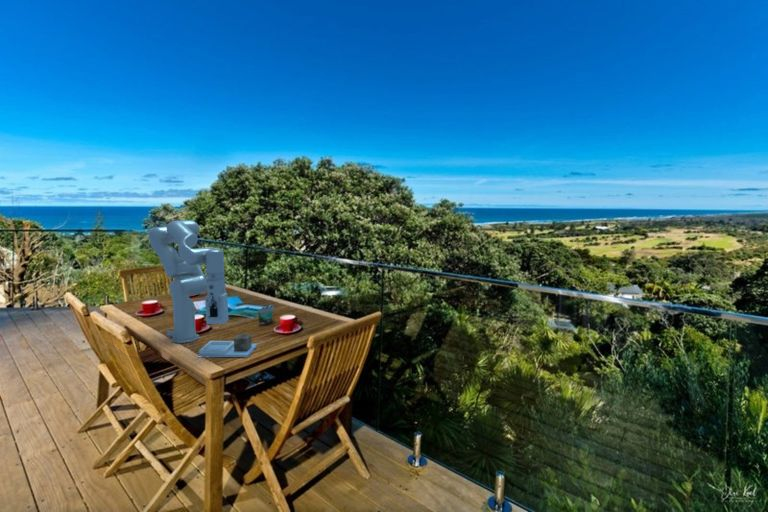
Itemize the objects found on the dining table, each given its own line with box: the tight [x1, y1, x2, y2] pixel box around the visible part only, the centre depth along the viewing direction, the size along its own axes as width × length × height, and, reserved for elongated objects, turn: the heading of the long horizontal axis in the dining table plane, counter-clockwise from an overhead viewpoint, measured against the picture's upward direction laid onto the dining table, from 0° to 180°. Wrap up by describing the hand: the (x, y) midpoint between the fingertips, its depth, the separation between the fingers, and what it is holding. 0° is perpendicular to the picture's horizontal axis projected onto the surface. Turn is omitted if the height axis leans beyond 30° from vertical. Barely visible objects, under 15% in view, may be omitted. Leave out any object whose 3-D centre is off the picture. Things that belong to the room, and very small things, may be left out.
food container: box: [257, 303, 275, 326], centre depth 223 cm, size 12×6×10 cm, turn 168°
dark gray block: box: [233, 333, 252, 351], centre depth 179 cm, size 6×6×6 cm
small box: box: [204, 292, 229, 325], centre depth 177 cm, size 8×6×13 cm
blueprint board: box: [197, 340, 258, 358], centre depth 180 cm, size 22×14×3 cm, turn 91°
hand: (217, 314), depth 177 cm, fingers closed on small box, 6 cm apart
